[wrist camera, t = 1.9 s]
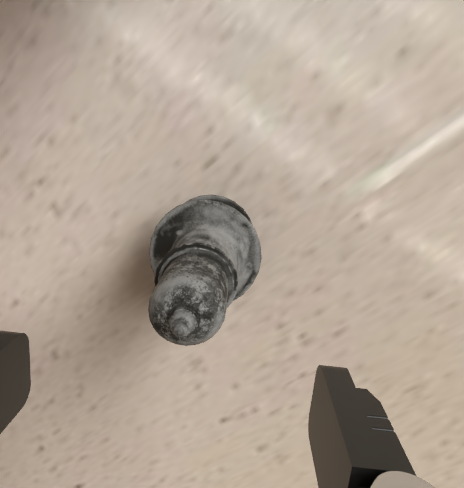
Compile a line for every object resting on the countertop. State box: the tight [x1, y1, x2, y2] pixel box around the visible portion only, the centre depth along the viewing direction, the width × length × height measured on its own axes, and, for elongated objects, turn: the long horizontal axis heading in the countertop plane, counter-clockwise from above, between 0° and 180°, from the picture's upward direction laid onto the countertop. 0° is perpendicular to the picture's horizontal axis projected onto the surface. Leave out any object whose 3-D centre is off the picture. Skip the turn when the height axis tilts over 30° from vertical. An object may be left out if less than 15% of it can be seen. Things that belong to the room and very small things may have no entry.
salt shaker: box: [149, 195, 261, 346], centre depth 19 cm, size 6×6×12 cm
